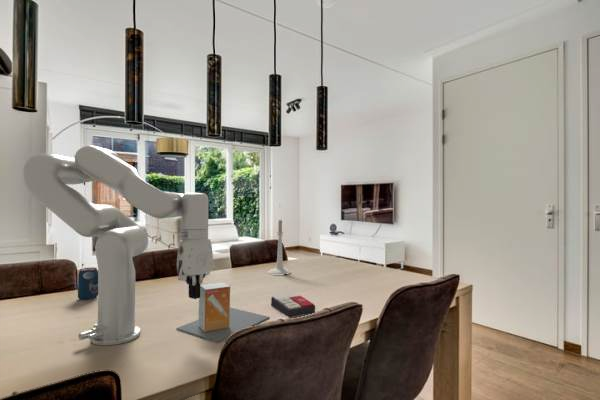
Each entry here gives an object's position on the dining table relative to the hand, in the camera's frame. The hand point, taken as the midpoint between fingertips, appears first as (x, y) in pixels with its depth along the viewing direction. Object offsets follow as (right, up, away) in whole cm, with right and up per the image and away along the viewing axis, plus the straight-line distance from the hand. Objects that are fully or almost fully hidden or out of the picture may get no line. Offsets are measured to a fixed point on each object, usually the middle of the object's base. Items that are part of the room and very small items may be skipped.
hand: (194, 297), depth 98 cm
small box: (+4, -12, +7) cm, 14 cm away
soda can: (-54, -11, +36) cm, 66 cm away
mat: (+7, -12, +11) cm, 18 cm away
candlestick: (+20, -12, +89) cm, 92 cm away
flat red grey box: (+28, -13, +27) cm, 41 cm away
